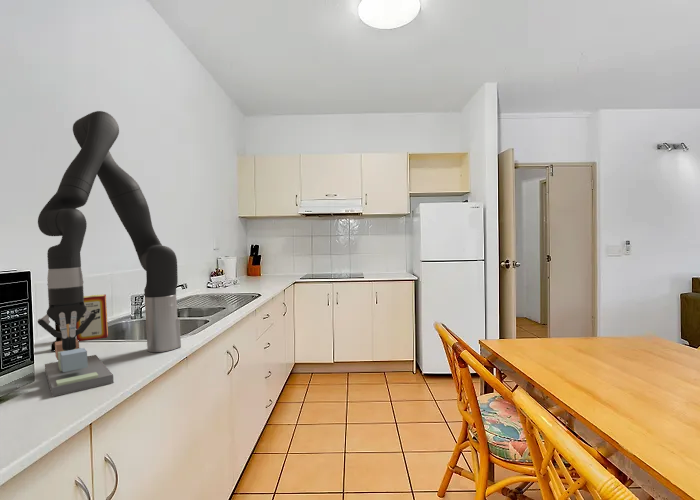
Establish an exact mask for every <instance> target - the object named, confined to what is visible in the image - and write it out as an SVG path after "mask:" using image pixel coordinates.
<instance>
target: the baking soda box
mask: <svg viewBox="0 0 700 500" xmlns="http://www.w3.org/2000/svg"><path fill="white" fill-rule="evenodd" d="M84 305H85V306H86V308H87V310H88V311H90V312H93V313H95V314H96V317H95V318H94V319H93V320H92V322H91V323H90V324H89V326H88V327H87V328H86V329H85V331H84V332H83V333H82V334H79V335H77V336H76V339H77V340H79V342H84V341H92V340H99V339H100V340H101V339H108V337H109V328H108V327H109V326H108V325H109V324H108V310H107V307H108V306H107V294H91V295H84ZM84 316H85V313H84V315H83V316H82V317H81V319H80V320H79V321H78V322H77V323H76V329H78V328H79V327H80V325H81V324H82V323H83V321H84V320H85V318H84Z"/></svg>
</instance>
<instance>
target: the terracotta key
mask: <svg viewBox="0 0 700 500" xmlns="http://www.w3.org/2000/svg"><path fill="white" fill-rule="evenodd" d="M78 348H80V341H78V340H77V338H76V348H75V349H78ZM60 351H64V350H63V348H62V341H58V342H55V351H54V352H55V358H56V360H58V352H60Z"/></svg>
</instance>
